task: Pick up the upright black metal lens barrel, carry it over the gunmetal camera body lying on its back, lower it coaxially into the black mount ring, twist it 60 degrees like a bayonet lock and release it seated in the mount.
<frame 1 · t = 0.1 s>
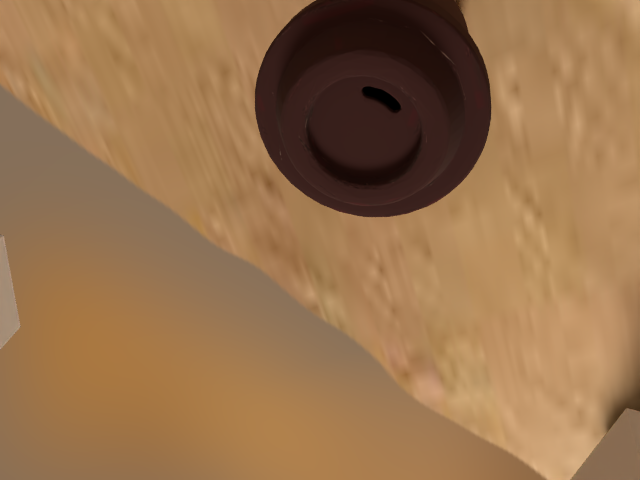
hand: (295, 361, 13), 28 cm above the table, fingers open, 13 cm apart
coffee cup: (399, 27, 36), on the table
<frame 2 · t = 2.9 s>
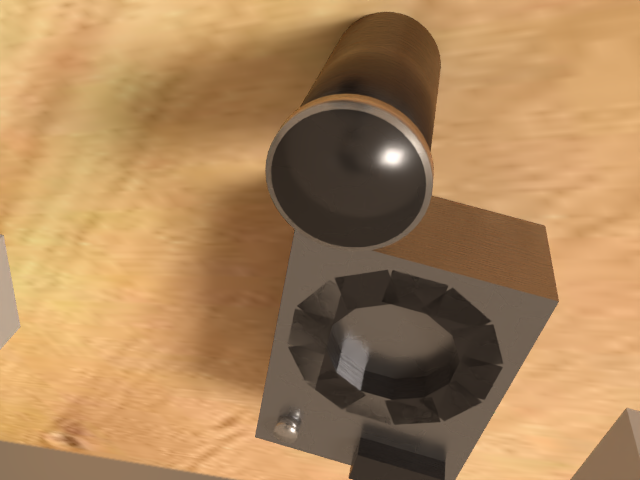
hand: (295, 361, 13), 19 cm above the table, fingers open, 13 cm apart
camera body: (393, 305, 36), on the table
lens: (386, 67, 28), on the table
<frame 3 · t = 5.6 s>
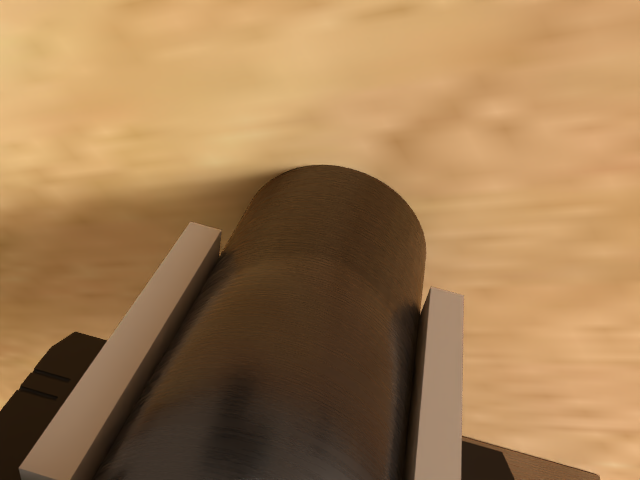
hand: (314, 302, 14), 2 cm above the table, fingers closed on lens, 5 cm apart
lens: (332, 248, 16), on the table, touching gripper
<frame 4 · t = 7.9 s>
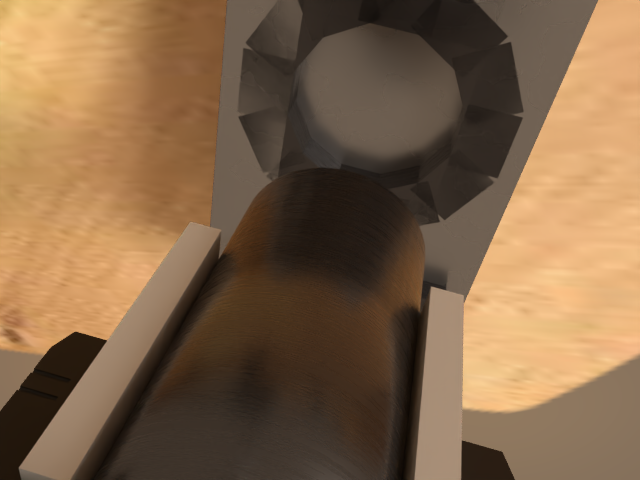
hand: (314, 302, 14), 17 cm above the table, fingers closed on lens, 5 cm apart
camera body: (380, 101, 28), on the table
lens: (331, 250, 16), point 14 cm above the table, touching gripper
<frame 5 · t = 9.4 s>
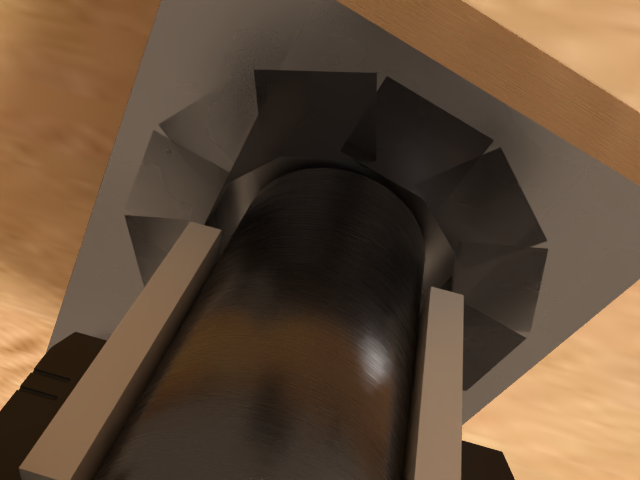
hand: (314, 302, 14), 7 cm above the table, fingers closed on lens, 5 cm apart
camera body: (331, 206, 21), on the table
lens: (331, 250, 16), point 5 cm above the table, touching gripper
when the fingers open (7 cm above the table, at t = 10.5 s): lens stays where it is, resting on camera body.
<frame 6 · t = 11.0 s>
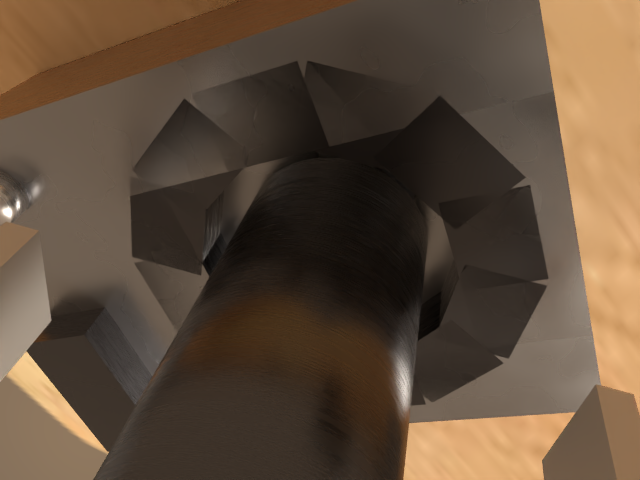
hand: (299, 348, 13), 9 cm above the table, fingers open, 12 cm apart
camera body: (305, 174, 21), on the table
lens: (335, 238, 16), point 5 cm above the table, touching camera body
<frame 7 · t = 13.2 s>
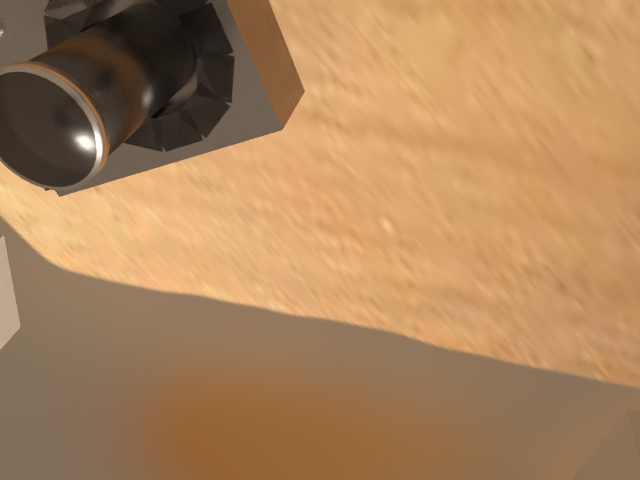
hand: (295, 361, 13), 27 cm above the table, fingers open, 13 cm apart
camera body: (154, 40, 37), on the table
lens: (150, 52, 33), point 5 cm above the table, touching camera body
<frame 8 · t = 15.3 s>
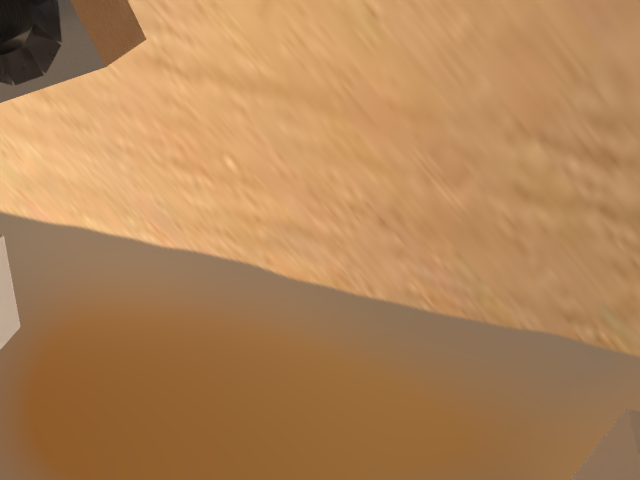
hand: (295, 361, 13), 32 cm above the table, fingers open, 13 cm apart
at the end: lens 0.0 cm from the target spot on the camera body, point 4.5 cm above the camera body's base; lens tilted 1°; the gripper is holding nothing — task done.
